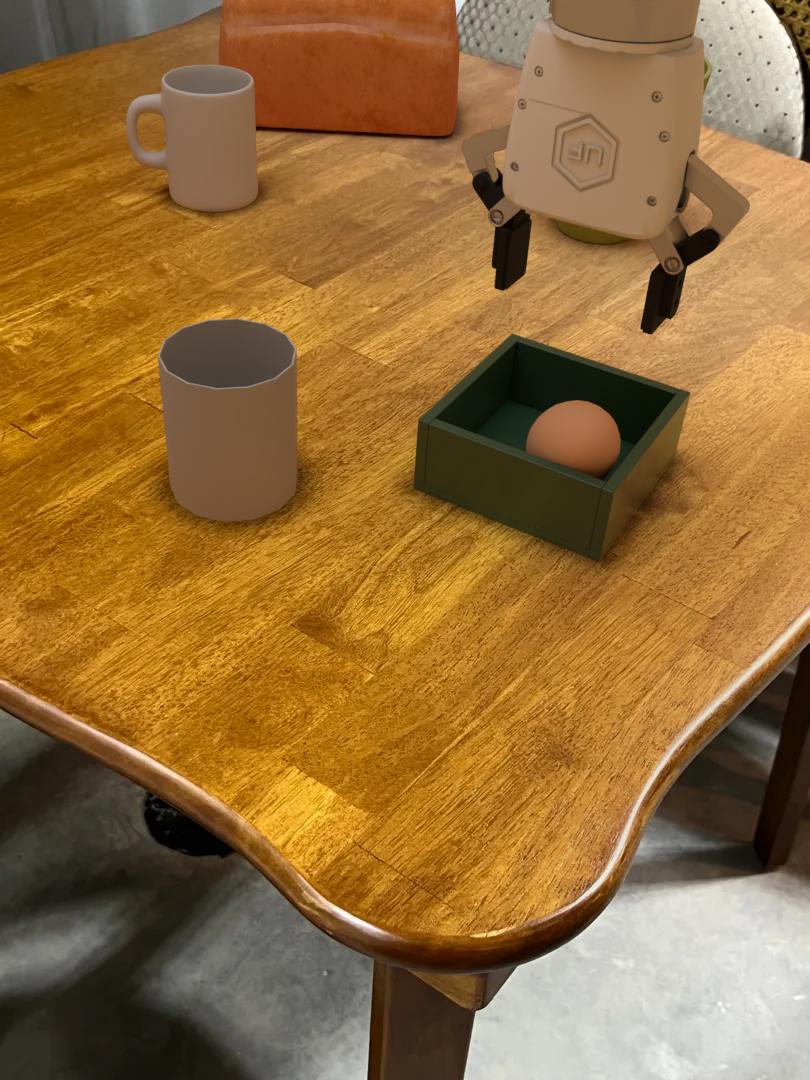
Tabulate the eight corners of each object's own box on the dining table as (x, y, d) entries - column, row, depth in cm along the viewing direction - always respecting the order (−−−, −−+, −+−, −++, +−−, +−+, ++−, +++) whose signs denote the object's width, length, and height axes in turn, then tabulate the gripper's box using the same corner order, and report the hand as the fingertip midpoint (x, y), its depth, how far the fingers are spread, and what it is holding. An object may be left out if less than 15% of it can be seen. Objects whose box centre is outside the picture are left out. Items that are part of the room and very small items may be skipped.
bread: (230, 87, 136) (223, -61, 125) (452, 99, 136) (464, -47, 126) (215, 130, 125) (207, -27, 115) (456, 143, 126) (469, -12, 116)
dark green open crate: (674, 459, 82) (691, 392, 78) (599, 563, 73) (613, 492, 69) (503, 398, 87) (512, 332, 83) (412, 488, 78) (417, 419, 74)
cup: (145, 482, 77) (130, 350, 70) (236, 432, 82) (230, 305, 75) (232, 539, 73) (225, 405, 66) (323, 483, 78) (324, 353, 71)
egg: (518, 502, 77) (554, 483, 69) (509, 418, 78) (544, 388, 70) (600, 496, 78) (645, 476, 70) (590, 413, 79) (634, 383, 71)
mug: (257, 176, 116) (253, 64, 109) (259, 212, 110) (256, 95, 103) (135, 177, 114) (123, 62, 107) (130, 213, 108) (118, 94, 101)
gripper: (445, -9, 61) (427, 288, 71) (766, 52, 54) (694, 369, 65) (509, -35, 66) (483, 246, 77) (808, 19, 60) (735, 318, 70)
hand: (580, 303), depth 71 cm, fingers open, 9 cm apart
